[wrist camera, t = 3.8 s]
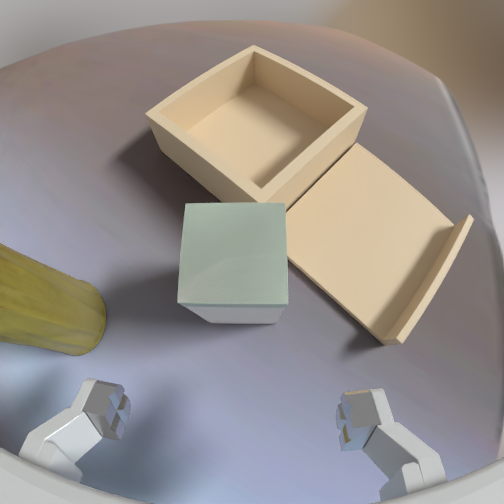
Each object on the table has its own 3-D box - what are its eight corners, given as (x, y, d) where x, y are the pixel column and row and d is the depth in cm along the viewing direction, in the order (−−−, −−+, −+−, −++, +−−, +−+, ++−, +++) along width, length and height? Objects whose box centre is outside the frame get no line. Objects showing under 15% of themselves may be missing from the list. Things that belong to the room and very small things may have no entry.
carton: (210, 323, 21) (177, 302, 12) (212, 260, 22) (185, 203, 14) (276, 324, 21) (288, 303, 12) (275, 261, 22) (285, 202, 14)
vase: (98, 366, 20) (-56, 357, 6) (42, 341, 20) (-96, 309, 7) (116, 290, 22) (-21, 211, 8) (59, 273, 22) (-67, 199, 9)
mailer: (160, 150, 26) (145, 113, 21) (254, 82, 28) (253, 45, 24) (384, 345, 20) (416, 341, 15) (455, 232, 23) (487, 208, 18)
